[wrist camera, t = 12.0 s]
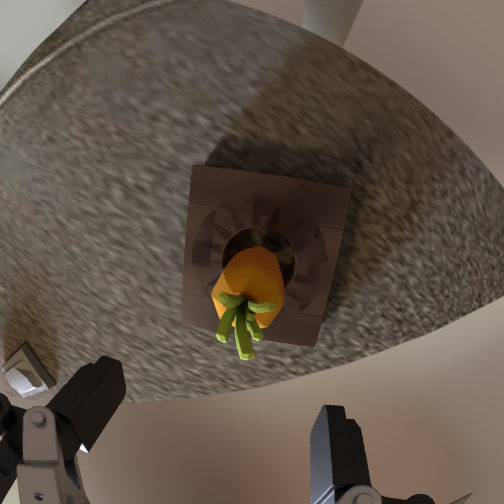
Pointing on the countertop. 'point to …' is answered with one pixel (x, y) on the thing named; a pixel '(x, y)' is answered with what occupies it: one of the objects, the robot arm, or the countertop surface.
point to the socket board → (272, 217)
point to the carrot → (248, 297)
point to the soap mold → (26, 373)
